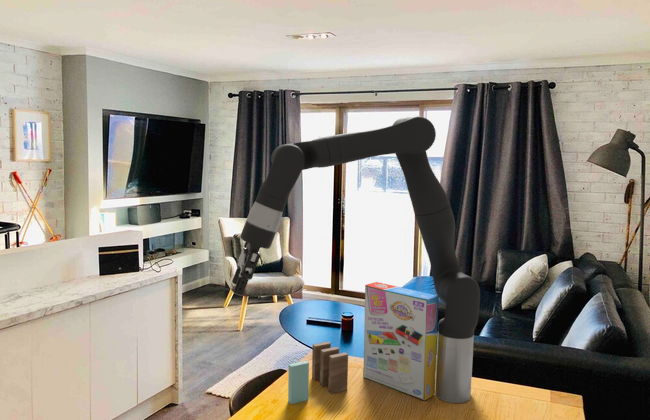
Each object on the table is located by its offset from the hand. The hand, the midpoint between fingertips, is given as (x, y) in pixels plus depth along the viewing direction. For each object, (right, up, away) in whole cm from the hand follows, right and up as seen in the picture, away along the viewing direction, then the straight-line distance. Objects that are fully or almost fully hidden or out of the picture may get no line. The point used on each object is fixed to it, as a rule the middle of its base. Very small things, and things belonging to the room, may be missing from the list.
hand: (236, 288), depth 123 cm
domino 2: (+22, -30, +21) cm, 43 cm away
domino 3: (+24, -30, +18) cm, 42 cm away
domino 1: (+20, -29, +25) cm, 43 cm away
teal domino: (+14, -31, +12) cm, 36 cm away
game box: (+41, -30, +21) cm, 55 cm away
